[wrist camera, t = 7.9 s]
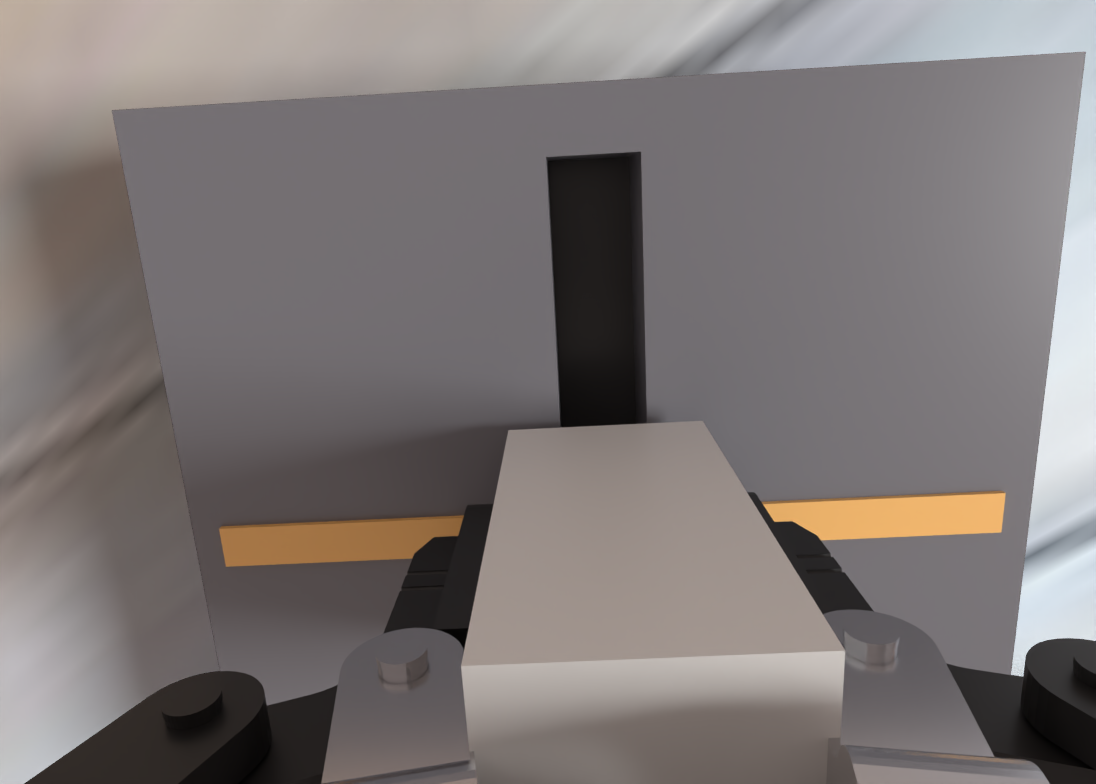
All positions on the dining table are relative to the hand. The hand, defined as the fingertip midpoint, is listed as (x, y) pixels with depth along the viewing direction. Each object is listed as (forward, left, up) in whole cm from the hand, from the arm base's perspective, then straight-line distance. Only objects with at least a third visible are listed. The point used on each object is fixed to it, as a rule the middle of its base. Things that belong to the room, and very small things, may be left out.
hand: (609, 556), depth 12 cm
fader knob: (0, 0, -2) cm, 2 cm away
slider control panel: (+4, 0, -6) cm, 7 cm away
